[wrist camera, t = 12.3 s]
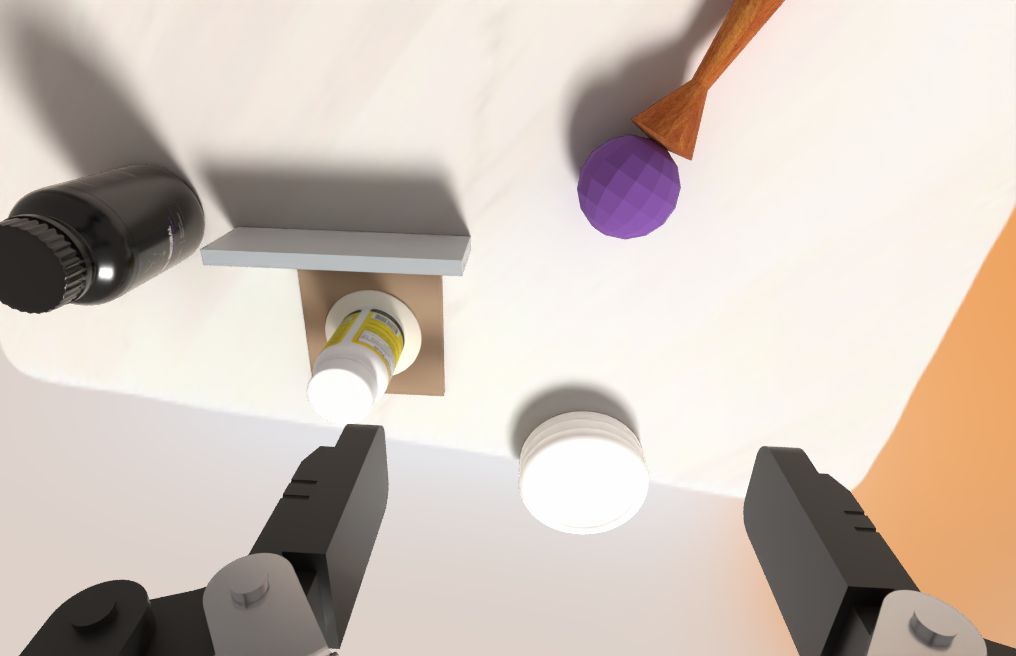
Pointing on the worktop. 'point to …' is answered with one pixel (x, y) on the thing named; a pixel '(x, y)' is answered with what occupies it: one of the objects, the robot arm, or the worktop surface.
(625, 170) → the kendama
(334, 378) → the supplement bottle
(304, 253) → the low wall
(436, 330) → the walnut board
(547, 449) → the coaster
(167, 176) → the supplement bottle
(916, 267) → the worktop surface
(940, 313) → the worktop surface
